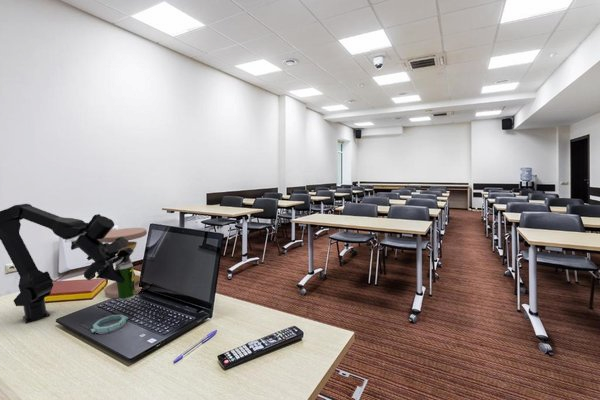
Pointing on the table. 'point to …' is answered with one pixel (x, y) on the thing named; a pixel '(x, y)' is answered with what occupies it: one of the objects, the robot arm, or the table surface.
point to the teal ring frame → (109, 324)
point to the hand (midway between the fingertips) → (129, 278)
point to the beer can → (126, 281)
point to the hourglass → (110, 237)
